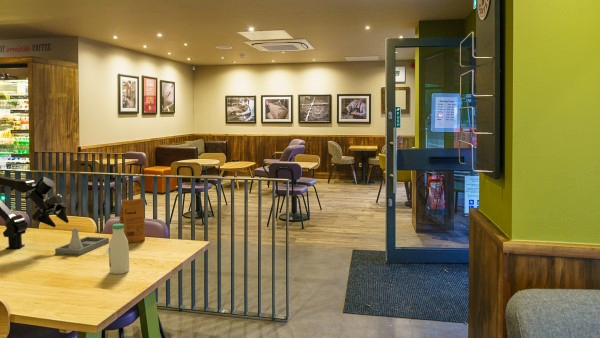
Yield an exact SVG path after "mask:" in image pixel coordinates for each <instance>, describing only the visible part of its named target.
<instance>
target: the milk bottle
mask: <svg viewBox="0 0 600 338" xmlns="http://www.w3.org/2000/svg"><path fill="white" fill-rule="evenodd" d="M111 229H112V230H111V231H112V235H111V238H109V243H108V259H109V260H108V262H109V263H108V264H109V273H110V274H114V275H119V274H121V275H122V274H125V273H128V272H129V271H130V247H129V243H128V240H127V238H126V236H125V234H124V224H119V223H113V224H112V226H111Z"/></svg>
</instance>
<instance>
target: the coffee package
mask: <svg viewBox="0 0 600 338" xmlns="http://www.w3.org/2000/svg"><path fill="white" fill-rule="evenodd" d="M118 224H124V234H125V236H126V238H127V240H128V244H129V243H138V242H143V241H145V240H146V227H145V225H146V224H145V210H144V200H143V198H142V197H141V198H136V199H121V206H120V212H119V223H118Z"/></svg>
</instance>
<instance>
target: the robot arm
mask: <svg viewBox="0 0 600 338" xmlns="http://www.w3.org/2000/svg"><path fill="white" fill-rule="evenodd" d="M0 186H4V187H8V188H12V189H14V190H15V191H17V192H19V193H22V194H25V193H27V194H25V198H24V200H25V201H30V200H31V202H32V203H33V204H34V205H35V206H34V208H35V209H36V210H35V212H34V213H33V214H32V215H31V219H32V220H33V221H34V222H36V221H37V222H38V223H42V224H44V225H47V226H49V227H53V228H56V226H57V225H56V224H55V222H54V221H53V220H52V218H51V217H50V214H54V215H55V217H57V218H58V219H60V220H61V221H62V222H64V223H66V224H68V223H69V218H68V215H67V214H66V211H67V208H68V205H67V203H65V202H62V201H63V199H64V196H62V195H61V194H59V193H57V194H55V195H54V196H52V197H46V196H45V195H47V194H48V193H50V192H51V190H52V189H53V188H54V187H55V186H56V183H55V181H54V180H52V179H50V178H47V176H42V177H41V178H40V179H39V181H38V182H36V181H35V180H34V179H28V178H27V179H18V178H12V177H8V176H3V175H0ZM58 203H59V204H58ZM0 217H1V219H2V220H4V225H5V228H6V229H4V231H3V232H2V234H3V238H7V241H8V246H7V247H5V250H16V249H17V250H18V249H19V250H20V249H21V248H23V247H25V246H26V244H23V239H22V238H23V237H22V235H23V234H26V231H27V229H28V225H29V224H28V223H29V222H27V219H26V218H25V217H23V215H22V214H17V215H16V214H15V213H13V211H11V209H9V207H8V206H7V205H6V204H5V203H4V202H3V201H2V199H0Z"/></svg>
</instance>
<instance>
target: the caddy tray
mask: <svg viewBox="0 0 600 338" xmlns="http://www.w3.org/2000/svg"><path fill="white" fill-rule="evenodd" d="M80 241H81V243H82V245H83V248H81V249H79V250H77V249H68V247H69V244H70V242H68V243H67V244H64V245H61V246H59V247H56V248H54V253H55V255H63V256H64V255H66V256H82V255H83V254H87V253H88V252H90V251H94V250H95V249H97V248H100V247H102V246H105V245H107V244H109V242H110V238H109V237H100V236H85V237H83V238H80Z"/></svg>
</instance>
